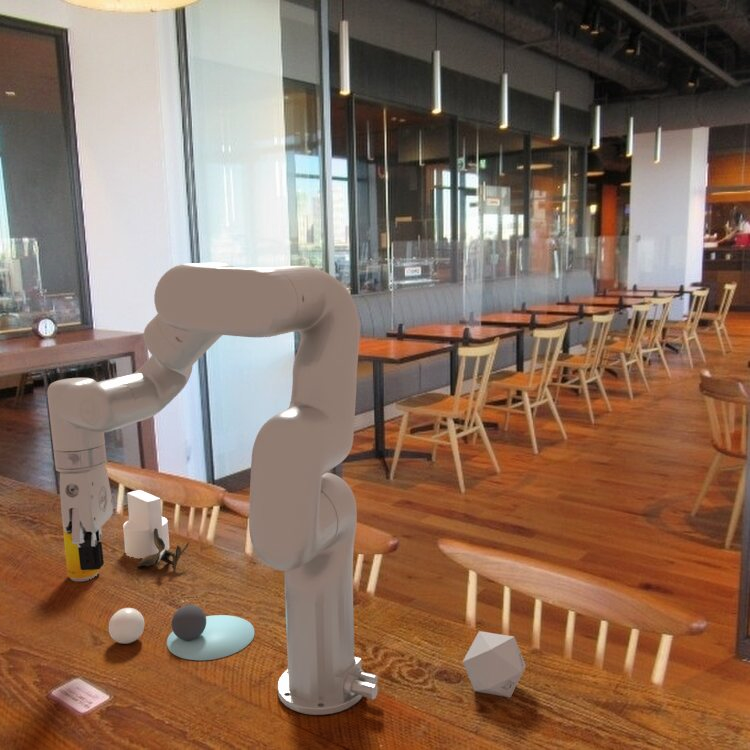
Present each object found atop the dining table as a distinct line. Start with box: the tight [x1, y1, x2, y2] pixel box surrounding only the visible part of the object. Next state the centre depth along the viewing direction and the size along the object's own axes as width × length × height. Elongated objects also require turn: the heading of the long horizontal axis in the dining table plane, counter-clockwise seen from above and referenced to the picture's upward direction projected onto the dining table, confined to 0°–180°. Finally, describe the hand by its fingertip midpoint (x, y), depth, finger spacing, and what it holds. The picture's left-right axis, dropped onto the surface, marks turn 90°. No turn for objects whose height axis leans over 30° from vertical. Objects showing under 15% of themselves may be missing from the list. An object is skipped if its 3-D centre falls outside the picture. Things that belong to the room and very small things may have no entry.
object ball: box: [171, 604, 206, 640], centre depth 120 cm, size 6×6×6 cm
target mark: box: [166, 614, 256, 661], centre depth 120 cm, size 14×14×1 cm
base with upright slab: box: [122, 489, 170, 559], centre depth 156 cm, size 9×9×12 cm
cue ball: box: [108, 607, 145, 645], centre depth 119 cm, size 6×6×6 cm
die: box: [462, 630, 527, 699], centre depth 104 cm, size 8×9×10 cm
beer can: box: [61, 520, 101, 582], centre depth 143 cm, size 6×6×15 cm
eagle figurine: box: [136, 528, 190, 572], centre depth 148 cm, size 8×8×10 cm
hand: (92, 567), depth 118 cm, fingers closed
